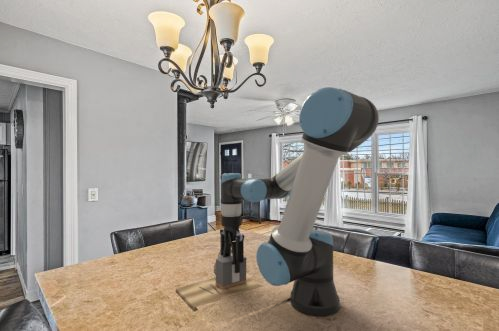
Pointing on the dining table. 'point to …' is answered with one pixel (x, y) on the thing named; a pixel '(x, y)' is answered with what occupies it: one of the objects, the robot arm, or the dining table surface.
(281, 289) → the dining table surface
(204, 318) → the dining table surface
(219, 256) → the rock
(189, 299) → the board
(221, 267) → the block
